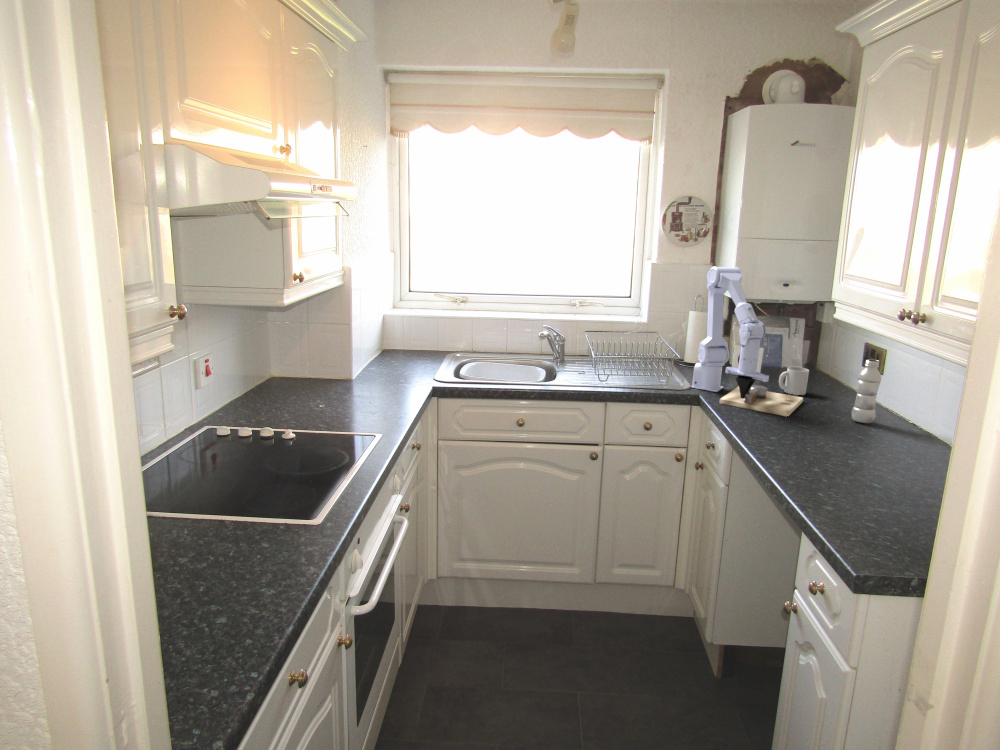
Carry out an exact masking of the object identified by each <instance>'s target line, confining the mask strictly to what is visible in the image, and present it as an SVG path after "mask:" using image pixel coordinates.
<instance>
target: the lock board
mask: <svg viewBox="0 0 1000 750" xmlns="http://www.w3.org/2000/svg"><path fill="white" fill-rule="evenodd" d="M718 402H719V404H721V405H727V406H731V407H736V408H741V409H742V408H743V409H747V410H751V411H757V412H763V413H766V414H767V413H768V414H773V415H776V416H782V417H787V416H788V417H789V416H790V415H791V414H792V413H793V412H794V411H795V410H796V409H797V408H799V406H800V405H801V404H802V403H803V402H804V397H802V396H797V395H791V394H786V393H785V394H784V393H777V392H774V391H773V392H772V391H768V390H767V395H766V398H757V399H756V400H755V401H754V402H753V403H751V404H748V403H745V398H744V399H742V398H741V395H740V389H739V385H737V387H735V388H734V389H732V390H731V391H730V392H728V393H727V394H725V395H723V396H722V397H721V398H719V401H718Z"/></svg>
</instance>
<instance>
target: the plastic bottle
mask: <svg viewBox="0 0 1000 750" xmlns="http://www.w3.org/2000/svg"><path fill="white" fill-rule="evenodd" d="M864 366H865V367H863V368H862V369H861V370H860V371H859V372H858V375H857V388H856V389H857V391H856V397H855V401H854V404H853V405H854V406H853V407H852V410H851V419H852V420H853V421H855V422H857V423H860V424H861V423H862V424H871V423H873V422H874V421H875V419H876V404H877V403H876V401H877V400H876V399H877V395H878V391H879V388H880V385H881V383H882V382H881V381H882V375H881V373H880V371H879V369H878V368H879V367H880V360H877V359H872V358H871V359H870V358H868V359H866V360H865V362H864Z"/></svg>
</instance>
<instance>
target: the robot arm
mask: <svg viewBox="0 0 1000 750" xmlns="http://www.w3.org/2000/svg"><path fill="white" fill-rule="evenodd" d="M706 277H707V278H706V279H707V280H706V290H708V296H707V297H708V299H707V300H708V301H707V302H708V303H707V325H706V330H707V331H706V337H705V338H704V339H703V340H702V341H700V342H699V344H698V345H699V347H698V350H697V354H696V355H697V359H698V362H696V363H695V364H694V367H693V372H692V373H693V375H692V383H691V385H690V386H691V388H692V389H693V388H694V389H697V390H702V391H703V390H704V391H709V392H715V393H718V392H720V391H721V390H722V389H724V386H721V379H722V371H723V367H724V366H725V364H726V363H727V362H728V361H729V359H730V350H729V346H728V345H729V343H728V341H726V340H725V339H724V338H723V328H724V327H723V325H724V304H725V303H724V300H725V298H724V297H725V295H724V294H726V293H727V292H728V293H729V295H730V297H731V299H732V302H733V303H734V305H735V308H734V311H733V312H734V314H735V316H736V319H737V322H738V324H739V327H740V328H739V329H738V334H739V344H740V352H739V359H738V360H739V361H738V367H734V366H733V367H731V366H727V367H725V372H724V373H725V374H731V375H734V376H735V375H736V376H737V377H735V380H736V383H737V386H739V389H740V395H741V398H742V399H744V398H745V395H746V393H748V392H749V390H750V388H751V386H752V385H754V384H755V382H756V380H757V381H762V382H764V383H768V382H769V380H770V379H769V378H770V375H769V374H764V373H762V372H759V371H757V368H758V362H759V355H760V348H761V340H763V339H764V338H765V336H766V334H767V332H766V331H767V329H766V325H765V324H764V322H763V321H761V320H760V319H758V317H757V315H756V312H755V310H754V308H753V305H752V304H751V303H748V302H747V299H746V297H745V293H744V290H743V287H742V284H741V283H742V281H743V280H742V279H743V275H742V271H741V269H740V268H739V266H715V265H714V266H712V267H711V268H710V269H709V271H708V272H707V276H706Z"/></svg>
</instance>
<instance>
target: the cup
mask: <svg viewBox="0 0 1000 750" xmlns="http://www.w3.org/2000/svg"><path fill="white" fill-rule="evenodd" d="M809 375H810V370H809V369H808V368H805V367H800V366H789V367H787V370H786V371H782V373H780V375H779V377H778V385H779V386H778V387H779V388H780V389H781V390H784V393H785V392H786V393H785V394H787V393H788V394H787V395H791V394H793V395H792V396H798V395H802V396H805V395H806V394H807V387H808V380H809ZM784 379H785V380H784ZM784 381H785V383H784Z"/></svg>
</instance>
